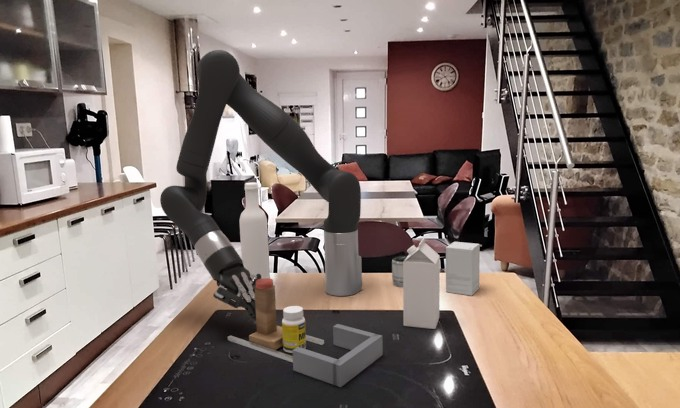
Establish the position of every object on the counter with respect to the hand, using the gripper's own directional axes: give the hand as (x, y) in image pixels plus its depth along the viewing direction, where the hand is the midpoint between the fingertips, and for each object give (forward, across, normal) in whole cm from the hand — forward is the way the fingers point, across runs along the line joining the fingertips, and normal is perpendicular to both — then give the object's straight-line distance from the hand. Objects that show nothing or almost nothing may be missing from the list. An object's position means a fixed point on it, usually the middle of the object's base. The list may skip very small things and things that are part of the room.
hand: (259, 317), depth 102 cm
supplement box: (+21, +52, -15) cm, 58 cm away
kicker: (+5, 0, +1) cm, 5 cm away
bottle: (-15, +24, +22) cm, 36 cm away
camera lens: (+10, +48, -3) cm, 49 cm away
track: (+6, 0, 0) cm, 6 cm away
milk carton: (+21, +26, -15) cm, 37 cm away
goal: (+18, 0, -12) cm, 21 cm away
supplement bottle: (+10, 0, -4) cm, 11 cm away
